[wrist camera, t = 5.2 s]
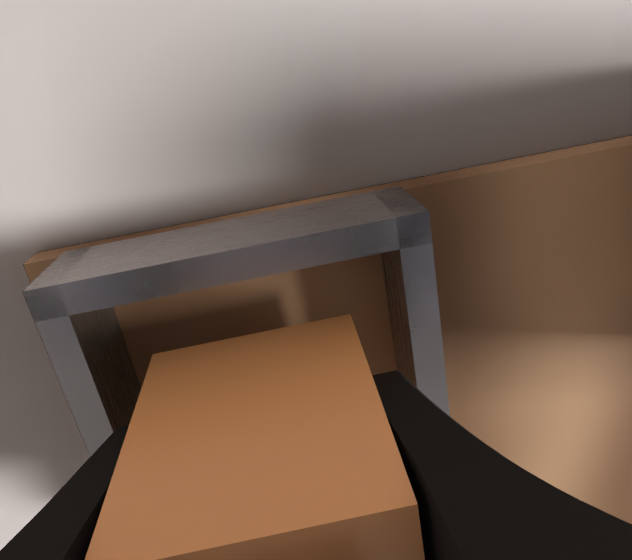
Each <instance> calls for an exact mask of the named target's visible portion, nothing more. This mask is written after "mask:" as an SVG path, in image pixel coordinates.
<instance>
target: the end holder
mask: <svg viewBox="0 0 632 560" xmlns="http://www.w3.org/2000/svg"><path fill="white" fill-rule="evenodd" d="M379 253H381V259H382V266H383V273H384V280H385V287H386V294H387V301H388V309H389V316H390V323H391V330H392V337H393V344H394V351H395V359H396V366H397V371H399V372H400V373H401V374H403V375H404V376H405V377H406V378H407V379H408V380H409V381H410V382H411V383H412V384H413V385H414V386H415V387H416V388H418V389H419V390H420V391H421V392H422V393H423V394H424V395H425V396H426V397H428V398H429V399H430V400H431V401H432V402H433V403H434V404H436V405H437V406H438V407H439V408H440V409H441V410H443V411H444V412H445V413H446V414H448V415H449V416H450V411H449V401H448V392H447V382H446V372H445V362H444V352H443V342H442V333H441V323H440V313H439V303H438V293H437V283H436V274H435V264H434V254H433V244H432V234H431V224H430V215H429V210H428V209H426V208H425V207H424V206H423V205H422V204H421V203H419V202H418V201H417V200H416V199H415V198H414V197H412V196H411V195H410V194H409V193H408V192H407V191H405V190H404V189H403V188H402V187H401V186H395V187H389V188H384V189H379V190H374V191H369V192H364V193H359V194H354V195H349V196H344V197H339V198H334V199H329V200H323V201H318V202H313V203H308V204H303V205H298V206H293V207H288V208H283V209H278V210H273V211H268V212H263V213H258V214H252V215H247V216H242V217H237V218H232V219H227V220H222V221H217V222H212V223H207V224H202V225H197V226H192V227H186V228H181V229H176V230H171V231H166V232H161V233H156V234H151V235H146V236H141V237H136V238H131V239H126V240H121V241H115V242H110V243H105V244H100V245H95V246H90V247H85V248H80V249H75V250H70V251H65V252H63V253H62V254H61V255H60V256H59V257H58V258H57V259H56V260H55V261H54V262H53V263H52V264H51V265H50V266H48V267H47V268H46V269H45V270H44V271H43V272H42V273H41V274H40V275H39V276H38V277H37V278H36V279H35V280H34V281H33V282H32V283H31V284H30V285H29V286H28V287H27V288H26V289H25V290H24V291H22V292H23V294H24V297H25V299H26V302H27V304H28V307H29V309H30V311H31V314H32V316H33V319H34V321H35V324H36V326H37V329H38V331H39V333H40V336H41V338H42V341H43V343H44V346H45V348H46V350H47V353H48V355H49V358H50V360H51V363H52V365H53V368H54V370H55V372H56V375H57V377H58V380H59V382H60V385H61V387H62V389H63V392H64V394H65V397H66V399H67V402H68V404H69V406H70V409H71V411H72V414H73V416H74V419H75V421H76V424H77V426H78V428H79V431H80V433H81V436H82V438H83V441H84V443H85V445H86V448H87V450H88V453H89V455H90V457H91V456H92V455H93V453H94V452H95V451H96V450H97V449H98V448H99V447H100V446H101V445H102V444H103V443H104V442H105V441H106V440H107V438H108V437H109V436H110V435H111V434H112V433H113V432H114V431H116V430H117V429H118V428H119V427H122V426H127V425H129V424H130V421H131V418H132V415H133V412H134V409H135V406H136V403H137V400H138V397H139V394H140V391H141V385H140V382H139V379H138V376H137V374H136V371H135V368H134V365H133V362H132V359H131V356H130V353H129V350H128V348H127V345H126V342H125V339H124V336H123V333H122V330H121V327H120V325H119V322H118V319H117V316H116V313H115V310H114V306H119V305H124V304H129V303H134V302H139V301H144V300H149V299H154V298H159V297H164V296H169V295H174V294H179V293H184V292H189V291H194V290H199V289H204V288H209V287H214V286H219V285H224V284H229V283H234V282H239V281H244V280H249V279H254V278H259V277H264V276H269V275H274V274H279V273H284V272H289V271H294V270H299V269H304V268H309V267H314V266H319V265H324V264H329V263H334V262H339V261H344V260H349V259H354V258H359V257H364V256H369V255H374V254H379Z"/></svg>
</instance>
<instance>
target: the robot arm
mask: <svg viewBox="0 0 632 560" xmlns="http://www.w3.org/2000/svg"><path fill="white" fill-rule="evenodd" d="M372 376H373V379H374V382H375V385H376V388H377V391H378V393H379V396H380V399H381V402H382V405H383V408H384V410H385V413H386V416H387V419H388V422H389V425H390V427H391V430H392V433H393V436H394V439H395V442H396V444H397V447H398V450H399V453H400V456H401V459H402V461H403V464H404V467H405V470H406V473H407V476H408V478H409V481H410V484H411V487H412V490H413V493H414V495H415V498H416V501H417V504H418V511H419V518H420V526H421V533H422V541H423V548H424V556H425V560H632V524H630V523H628V522H625V521H623V520H621V519H619V518H617V517H615V516H613V515H610V514H608V513H606V512H604V511H602V510H600V509H598V508H596V507H594V506H592V505H589V504H587V503H585V502H583V501H581V500H579V499H577V498H575V497H573V496H571V495H569V494H567V493H565V492H564V491H562V490H560V489H558V488H556V487H554V486H552V485H551V484H549V483H547V482H545V481H544V480H542V479H540V478H538V477H537V476H535V475H533V474H531V473H530V472H528V471H526V470H525V469H523V468H521V467H520V466H518V465H517V464H515V463H514V462H512V461H510V460H509V459H507V458H506V457H504V456H503V455H501V454H500V453H499V452H497V451H496V450H494V449H493V448H491V447H490V446H488V445H487V444H485V443H484V442H483V441H481V440H480V439H479V438H477V437H476V436H475V435H473V434H472V433H470V432H469V431H468V430H467V429H465V428H464V427H463V426H461V425H460V424H459V423H458V422H456V421H455V420H454V419H453V418H451V417H450V416H449V415H448V414H446V413H445V412H444V411H443V410H441V409H440V408H439V407H438V406H437V405H436V404H434V403H433V402H432V401H431V400H430V399H429V398H428V397H426V396H425V395H424V394H423V393H422V392H421V391H420V390H419V389H418V388H416V387H415V386H414V385H413V384H412V383H411V382H410V381H409V380H408V379H407V378H406V377H405V376H404V375H403V374H401V373H400V372H399V371H397V370H395V371H390V372H385V373H380V374H375V375H372ZM128 427H129V425H127V426H122V427H119V428H118V429H117V430H116V431H114V432H113V433H112V434H111V435H110V436H109V437H108V438H107V440H106V441H105V442H104V443H103V444H102V445H101V446H100V447H99V448H98V449H97V450H96V451H95V452H94V453H93V455H92V456H91V457H90V458H89V459H88V460H87V461H86V462H85V463H84V464H83V466H82V467H81V468H80V469H79V470H78V471H77V472H76V473H75V474H74V475H73V476H72V478H71V479H70V480H69V481H68V482H67V483H66V484H65V485H64V486H63V487H62V488H61V489H60V490H59V492H58V493H57V494H56V495H55V496H54V497H53V498H52V499H51V500H50V501H49V502H48V503H47V504H46V506H45V507H44V508H43V509H42V510H41V511H40V512H39V513H38V514H37V515H36V516H35V517H34V518H33V519H32V520H31V521H30V522H29V523H28V524H27V525H26V526H25V527H24V528H23V529H22V530H21V531H20V532H19V533H18V534H17V535H16V536H15V537H14V538H13V539H12V540H11V541H10V542H9V543H8V544H7V545H6V546H5V547H4V548H3V549H2V550H1V551H0V560H85V557H86V554H87V551H88V548H89V545H90V542H91V539H92V536H93V533H94V530H95V527H96V524H97V521H98V518H99V515H100V512H101V509H102V506H103V503H104V500H105V497H106V494H107V491H108V488H109V485H110V482H111V479H112V476H113V473H114V470H115V467H116V464H117V461H118V457H119V454H120V451H121V448H122V445H123V442H124V439H125V436H126V433H127V430H128Z"/></svg>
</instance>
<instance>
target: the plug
mask: <svg viewBox="0 0 632 560" xmlns="http://www.w3.org/2000/svg"><path fill="white" fill-rule="evenodd" d="M85 560H425V556H424V548H423V541H422V533H421V526H420V518H419V511H418V504H417V501H416V498H415V495H414V493H413V490H412V487H411V484H410V481H409V478H408V476H407V473H406V470H405V467H404V464H403V461H402V459H401V456H400V453H399V450H398V447H397V444H396V442H395V439H394V436H393V433H392V430H391V427H390V425H389V422H388V419H387V416H386V413H385V410H384V408H383V405H382V402H381V399H380V396H379V393H378V391H377V388H376V385H375V382H374V379H373V376H372V374H371V371H370V368H369V365H368V362H367V359H366V357H365V354H364V351H363V348H362V345H361V342H360V340H359V337H358V334H357V331H356V328H355V325H354V323H353V320H352V317H351V314H347V315H342V316H337V317H332V318H328V319H323V320H318V321H313V322H308V323H303V324H298V325H293V326H288V327H283V328H279V329H274V330H269V331H264V332H259V333H254V334H249V335H244V336H239V337H234V338H229V339H225V340H220V341H215V342H210V343H205V344H200V345H195V346H190V347H185V348H180V349H175V350H171V351H166V352H161V353H156V354H153V355H152V358H151V361H150V364H149V367H148V370H147V373H146V376H145V379H144V382H143V385H142V388H141V391H140V394H139V397H138V400H137V403H136V406H135V409H134V412H133V415H132V418H131V421H130V424H129V427H128V430H127V433H126V436H125V439H124V442H123V445H122V448H121V451H120V454H119V457H118V461H117V464H116V467H115V470H114V473H113V476H112V479H111V482H110V485H109V488H108V491H107V494H106V497H105V500H104V503H103V506H102V509H101V512H100V515H99V518H98V521H97V524H96V527H95V530H94V533H93V536H92V539H91V542H90V545H89V548H88V551H87V554H86V557H85Z"/></svg>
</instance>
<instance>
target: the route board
mask: <svg viewBox="0 0 632 560" xmlns="http://www.w3.org/2000/svg"><path fill="white" fill-rule="evenodd" d="M395 186H401V187H402V188H403V189H404V190H405V191H407V192H408V193H409V194H410V195H411V196H412V197H414V198H415V199H416V200H417V201H418V202H419V203H421V204H422V205H423V206H424V207H425V208H426V209H428V210H429V215H430V224H431V234H432V244H433V254H434V264H435V274H436V283H437V293H438V303H439V313H440V323H441V333H442V342H443V352H444V362H445V372H446V382H447V392H448V401H449V411H450V417H451V418H453V419H454V420H455V421H456V422H458V423H459V424H460V425H461V426H463V427H464V428H465V429H467V430H468V431H469V432H470V433H472V434H473V435H475V436H476V437H477V438H479V439H480V440H481V441H483V442H484V443H485V444H487V445H488V446H490V447H491V448H493V449H494V450H496V451H497V452H499V453H500V454H501V455H503V456H504V457H506V458H507V459H509V460H510V461H512V462H514V463H515V464H517V465H518V466H520V467H521V468H523V469H525V470H526V471H528V472H530V473H531V474H533V475H535V476H537V477H538V478H540V479H542V480H544V481H545V482H547V483H549V484H551V485H552V486H554V487H556V488H558V489H560V490H562V491H564V492H565V493H567V494H569V495H571V496H573V497H575V498H577V499H579V500H581V501H583V502H585V503H587V504H589V505H592V506H594V507H596V508H598V509H600V510H602V511H604V512H606V513H608V514H610V515H613V516H615V517H617V518H619V519H621V520H623V521H625V522H628V523H630V524H632V135H631V136H626V137H621V138H616V139H611V140H606V141H601V142H596V143H591V144H586V145H580V146H575V147H570V148H565V149H560V150H555V151H550V152H545V153H540V154H535V155H530V156H525V157H520V158H514V159H509V160H504V161H499V162H494V163H489V164H484V165H479V166H474V167H469V168H464V169H459V170H453V171H448V172H443V173H438V174H433V175H428V176H423V177H418V178H413V179H408V180H403V181H398V182H393V183H387V184H382V185H377V186H372V187H367V188H362V189H357V190H352V191H347V192H342V193H337V194H332V195H327V196H321V197H316V198H311V199H306V200H301V201H296V202H291V203H286V204H281V205H276V206H271V207H266V208H260V209H255V210H250V211H245V212H240V213H235V214H230V215H225V216H220V217H215V218H210V219H205V220H200V221H194V222H189V223H184V224H179V225H174V226H169V227H164V228H159V229H154V230H149V231H144V232H139V233H134V234H128V235H123V236H118V237H113V238H108V239H103V240H98V241H93V242H88V243H83V244H78V245H73V246H67V247H62V248H57V249H52V250H47V251H42V252H37V253H36V254H35V255H34V256H32V257H31V258H30V259H29V260H28V261H27V262H25V263H24V264H23V266H24V268H25V271H26V273H27V276H28V278H29V281H30V283H32V282H33V281H34V280H35V279H36V278H37V277H38V276H39V275H40V274H41V273H42V272H43V271H44V270H45V269H46V268H47V267H48V266H50V265H51V264H52V263H53V262H54V261H55V260H56V259H57V258H58V257H59V256H60V255H61V254H62V253H63V252H65V251H70V250H75V249H80V248H85V247H90V246H95V245H100V244H105V243H110V242H115V241H121V240H126V239H131V238H136V237H141V236H146V235H151V234H156V233H161V232H166V231H171V230H176V229H181V228H186V227H192V226H197V225H202V224H207V223H212V222H217V221H222V220H227V219H232V218H237V217H242V216H247V215H252V214H258V213H263V212H268V211H273V210H278V209H283V208H288V207H293V206H298V205H303V204H308V203H313V202H318V201H323V200H329V199H334V198H339V197H344V196H349V195H354V194H359V193H364V192H369V191H374V190H379V189H384V188H389V187H395ZM114 310H115V313H116V316H117V319H118V322H119V325H120V327H121V330H122V333H123V336H124V339H125V342H126V345H127V348H128V350H129V353H130V356H131V359H132V362H133V365H134V368H135V371H136V374H137V376H138V379H139V382H140V385H141V388H142V385H143V382H144V379H145V376H146V373H147V370H148V367H149V364H150V361H151V358H152V355H153V354H156V353H161V352H166V351H171V350H175V349H180V348H185V347H190V346H195V345H200V344H205V343H210V342H215V341H220V340H225V339H229V338H234V337H239V336H244V335H249V334H254V333H259V332H264V331H269V330H274V329H279V328H283V327H288V326H293V325H298V324H303V323H308V322H313V321H318V320H323V319H328V318H332V317H337V316H342V315H347V314H351V317H352V320H353V323H354V325H355V328H356V331H357V334H358V337H359V340H360V342H361V345H362V348H363V351H364V354H365V357H366V359H367V362H368V365H369V368H370V371H371V374H372V375H375V374H380V373H385V372H390V371H395V370H397V366H396V359H395V351H394V344H393V337H392V330H391V323H390V316H389V309H388V301H387V294H386V287H385V280H384V273H383V266H382V259H381V253H379V254H374V255H369V256H364V257H359V258H354V259H349V260H344V261H339V262H334V263H329V264H324V265H319V266H314V267H309V268H304V269H299V270H294V271H289V272H284V273H279V274H274V275H269V276H264V277H259V278H254V279H249V280H244V281H239V282H234V283H229V284H224V285H219V286H214V287H209V288H204V289H199V290H194V291H189V292H184V293H179V294H174V295H169V296H164V297H159V298H154V299H149V300H144V301H139V302H134V303H129V304H124V305H119V306H114Z"/></svg>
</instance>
